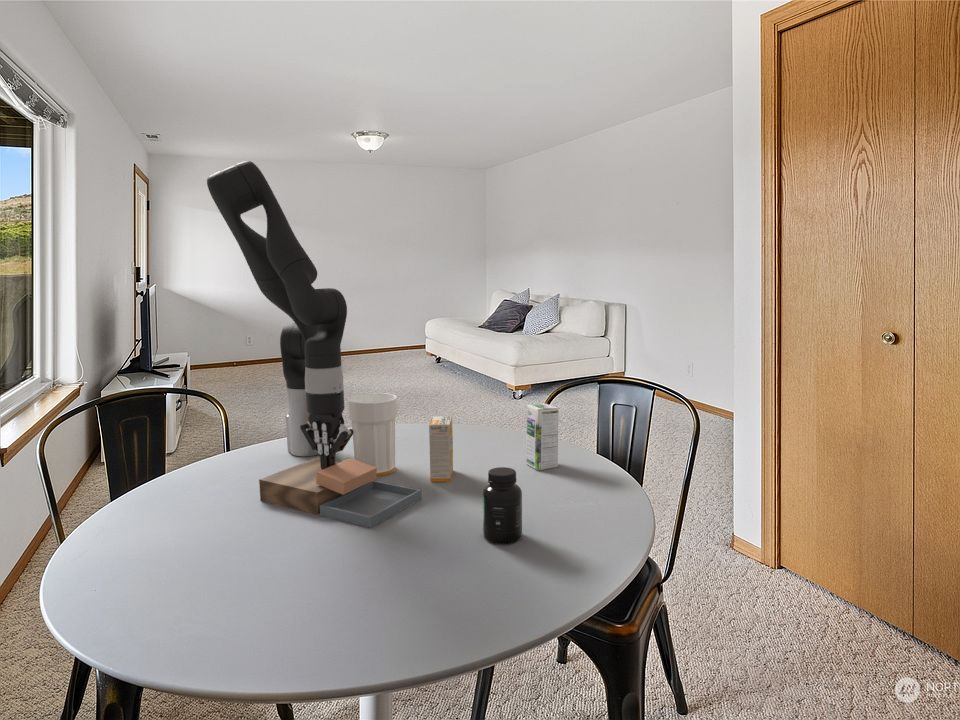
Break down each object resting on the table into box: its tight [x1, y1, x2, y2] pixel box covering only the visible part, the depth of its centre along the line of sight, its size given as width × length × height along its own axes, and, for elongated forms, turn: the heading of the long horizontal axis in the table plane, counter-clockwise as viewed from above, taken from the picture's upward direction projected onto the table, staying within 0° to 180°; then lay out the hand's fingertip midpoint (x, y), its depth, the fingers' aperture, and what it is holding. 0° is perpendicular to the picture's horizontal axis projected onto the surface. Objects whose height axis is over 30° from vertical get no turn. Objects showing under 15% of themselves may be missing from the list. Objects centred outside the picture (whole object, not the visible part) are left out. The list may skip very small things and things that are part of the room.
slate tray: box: [319, 480, 422, 529], centre depth 127 cm, size 12×16×2 cm
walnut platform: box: [258, 457, 343, 516], centre depth 134 cm, size 16×16×4 cm
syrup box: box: [525, 403, 560, 471], centre depth 150 cm, size 6×6×14 cm
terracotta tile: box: [316, 458, 377, 495], centre depth 129 cm, size 7×10×2 cm
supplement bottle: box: [482, 466, 523, 545], centre depth 111 cm, size 7×7×12 cm
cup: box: [346, 392, 398, 478], centre depth 148 cm, size 11×11×17 cm
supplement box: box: [428, 415, 454, 483], centre depth 143 cm, size 8×5×13 cm, turn 179°
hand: (328, 471), depth 131 cm, fingers closed
